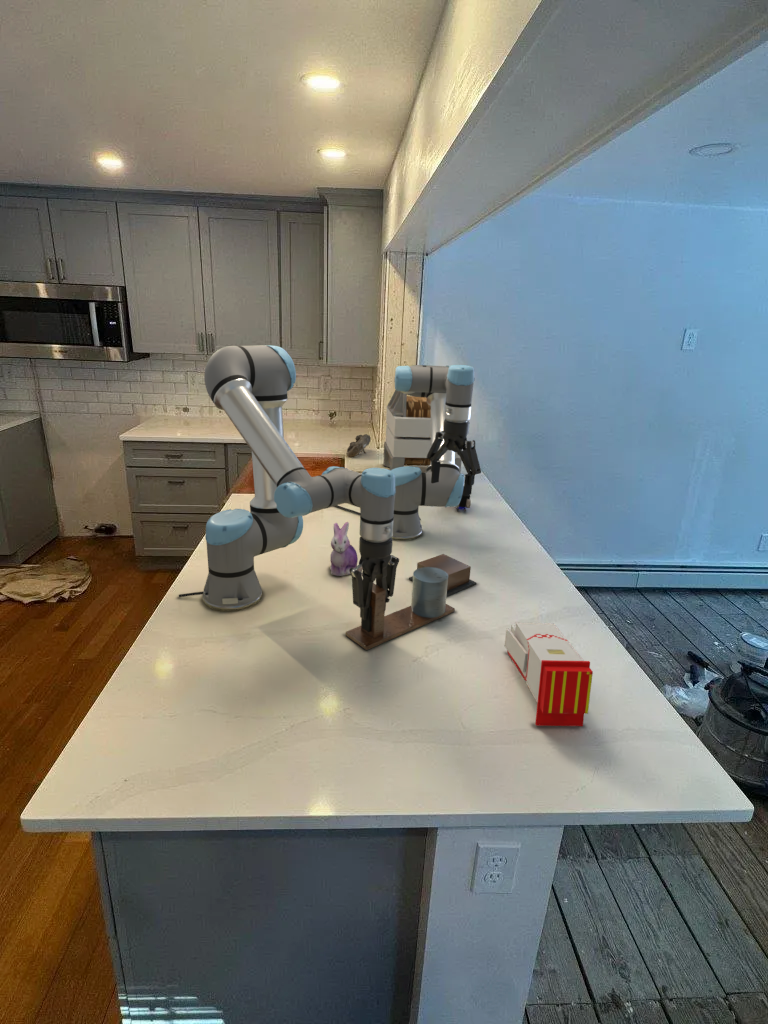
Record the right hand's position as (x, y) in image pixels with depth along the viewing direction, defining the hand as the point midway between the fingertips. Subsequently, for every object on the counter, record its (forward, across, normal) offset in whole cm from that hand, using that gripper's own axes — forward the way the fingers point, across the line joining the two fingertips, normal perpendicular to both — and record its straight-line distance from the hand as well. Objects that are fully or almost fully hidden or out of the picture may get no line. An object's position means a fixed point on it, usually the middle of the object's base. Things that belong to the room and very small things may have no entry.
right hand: (450, 488), depth 173 cm
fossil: (+28, -123, +60) cm, 140 cm away
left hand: (+20, +22, -48) cm, 56 cm away
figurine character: (+25, -31, +41) cm, 57 cm away
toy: (+22, +58, -30) cm, 69 cm away
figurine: (+23, -11, -32) cm, 41 cm away
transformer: (+27, -77, +62) cm, 102 cm away
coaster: (+23, +12, -13) cm, 29 cm away
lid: (+22, +12, -13) cm, 28 cm away
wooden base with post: (+22, +22, -38) cm, 49 cm away
